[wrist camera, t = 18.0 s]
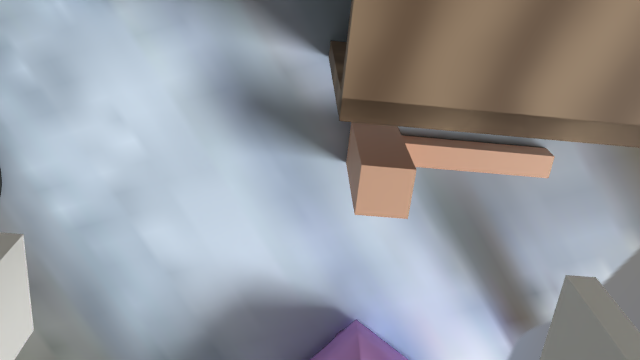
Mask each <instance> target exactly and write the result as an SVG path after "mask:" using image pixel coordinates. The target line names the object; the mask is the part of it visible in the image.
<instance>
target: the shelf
mask: <svg viewBox="0 0 640 360" xmlns="http://www.w3.org/2000/svg"><path fill="white" fill-rule="evenodd" d="M329 62H330V68H331V73H332V79H333V85H334V91H335V97H336V103H337V109H338V115H339V121H347V122H358V123H369V124H380V125H391V126H403V127H414V128H425V129H436V130H447V131H458V132H470V133H481V134H492V135H503V136H514V137H526V138H537V139H548V140H559V141H570V142H582V143H593V144H604V145H615V146H626V147H638V148H640V0H352V1H351V10H350V18H349V27H348V35H347V42H339V41H330V50H329Z"/></svg>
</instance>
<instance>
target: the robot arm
mask: <svg viewBox="0 0 640 360" xmlns="http://www.w3.org/2000/svg"><path fill="white" fill-rule="evenodd" d="M1 187H2V178H1V169H0V195H1ZM33 330H34V328H33V319H32V310H31V300H30V291H29V282H28V272H27V263H26V254H25V244H24V235H23V234H13V233H0V360H14V359H15V358H16V356H17V355H18V353H19V352H20V350H21V349H22V347H23V346H24V344H25V342H26V341H27V339H28V338H29V336H30V335H31V333H32V332H33ZM540 360H640V332H639V331H638V330H637V328H636V327H635V326H634V325H633V323H632V322H631V321H630V320H629V318H628V317H627V316H626V315H625V313H624V312H623V311H622V310H621V308H620V307H619V306H618V305H617V303H616V302H615V301H614V300H613V298H612V297H611V296H610V295H609V294H608V292H607V291H606V290H605V288H604V287H603V286H602V285H601V283H600V282H599V281H598V280H597V279H596V277H583V276H570V275H566V276H565V279H564V283H563V286H562V289H561V292H560V296H559V299H558V302H557V305H556V309H555V312H554V315H553V318H552V322H551V325H550V328H549V331H548V335H547V338H546V341H545V344H544V348H543V351H542V354H541V357H540Z"/></svg>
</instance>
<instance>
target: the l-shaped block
mask: <svg viewBox="0 0 640 360" xmlns="http://www.w3.org/2000/svg"><path fill="white" fill-rule="evenodd" d="M553 160H554V156H553V155H552V154H551V153H550V152H549V151H548V150H547V149H546V148H539V147H528V146H517V145H506V144H494V143H483V142H472V141H460V140H449V139H438V138H426V137H415V136H404V135H401V133H400V131H399V128H398V126H391V125H380V124H369V123H358V122H351V128H350V136H349V144H348V152H347V160H346V165H347V171H348V177H349V183H350V189H351V195H352V201H353V207H354V213H355V215H366V216H378V217H391V218H403V219H408V214H409V209H410V203H411V198H412V192H413V186H414V181H415V175H416V168H415V167H424V168H435V169H447V170H459V171H471V172H482V173H494V174H506V175H518V176H529V177H541V178H549V175H550V171H551V167H552V164H553Z"/></svg>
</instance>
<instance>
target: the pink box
mask: <svg viewBox="0 0 640 360" xmlns="http://www.w3.org/2000/svg"><path fill="white" fill-rule="evenodd" d="M310 360H408V359H407V358H405V357H404V356H403V355H401V354H400V353H399V352H398V351H396V350H395V349H394V348H392V347H391V346H390V345H388V344H387V343H386V342H385V341H383V340H382V339H381V338H379V337H378V336H377V335H376V334H374V333H373V332H372V331H370V330H369V329H368V328H367V327H365V326H364V325H363V324H361V323H360V322H359V321H357V320H355V321H354V322H352V323H351V324H350V325H349V326H348V327H347V328H346V329H344V330H342V331H340V332H339V333H338V334H337V335H336V336H335V338H334V339H333V340H332V341H331V342H330V343H328V344H327V345H326V346H325V347H324V348H323V349H322V350H320V351H319V352H318V353H317V354H316V355H315V356H314V357H312V358H311V359H310Z"/></svg>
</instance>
